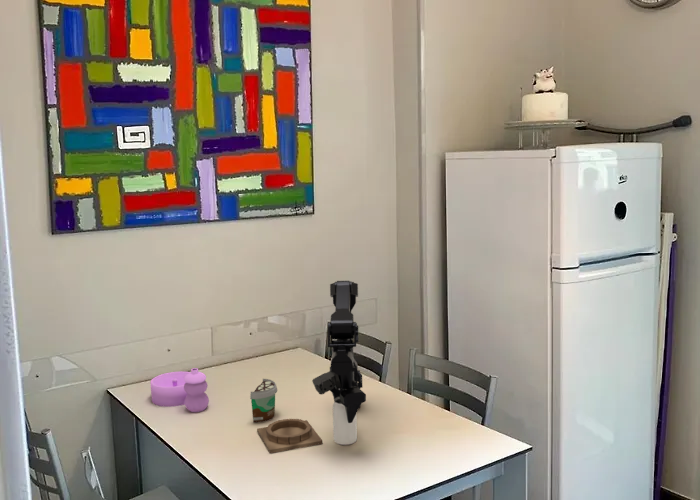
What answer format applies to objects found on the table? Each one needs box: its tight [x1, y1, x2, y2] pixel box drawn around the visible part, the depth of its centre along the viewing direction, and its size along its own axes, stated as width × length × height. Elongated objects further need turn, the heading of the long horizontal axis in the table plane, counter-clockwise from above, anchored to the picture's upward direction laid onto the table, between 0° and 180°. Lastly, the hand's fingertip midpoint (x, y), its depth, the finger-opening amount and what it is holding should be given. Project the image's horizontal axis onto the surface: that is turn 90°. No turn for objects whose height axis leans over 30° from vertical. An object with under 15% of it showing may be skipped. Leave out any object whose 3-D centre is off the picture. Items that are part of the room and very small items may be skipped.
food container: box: [249, 378, 278, 424], centre depth 214 cm, size 12×6×10 cm, turn 168°
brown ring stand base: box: [256, 418, 324, 454], centre depth 199 cm, size 15×15×3 cm
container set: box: [150, 367, 210, 413], centre depth 227 cm, size 25×15×13 cm, turn 42°
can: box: [332, 397, 358, 446], centre depth 196 cm, size 6×6×12 cm
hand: (344, 416), depth 196 cm, fingers open, 8 cm apart
